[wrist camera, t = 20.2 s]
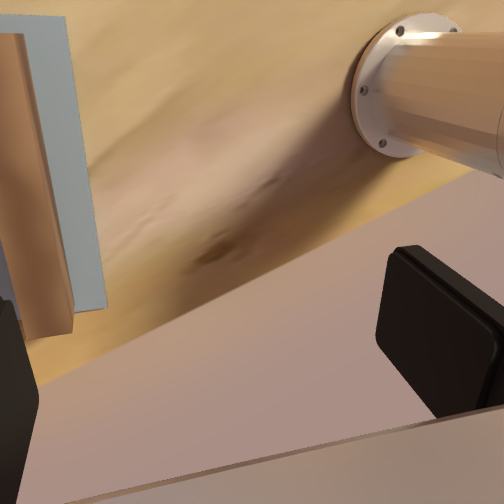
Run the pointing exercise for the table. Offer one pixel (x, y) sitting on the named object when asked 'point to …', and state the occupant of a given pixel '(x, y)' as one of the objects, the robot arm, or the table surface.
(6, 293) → the rubber mat
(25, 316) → the wooden beam
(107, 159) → the table surface
